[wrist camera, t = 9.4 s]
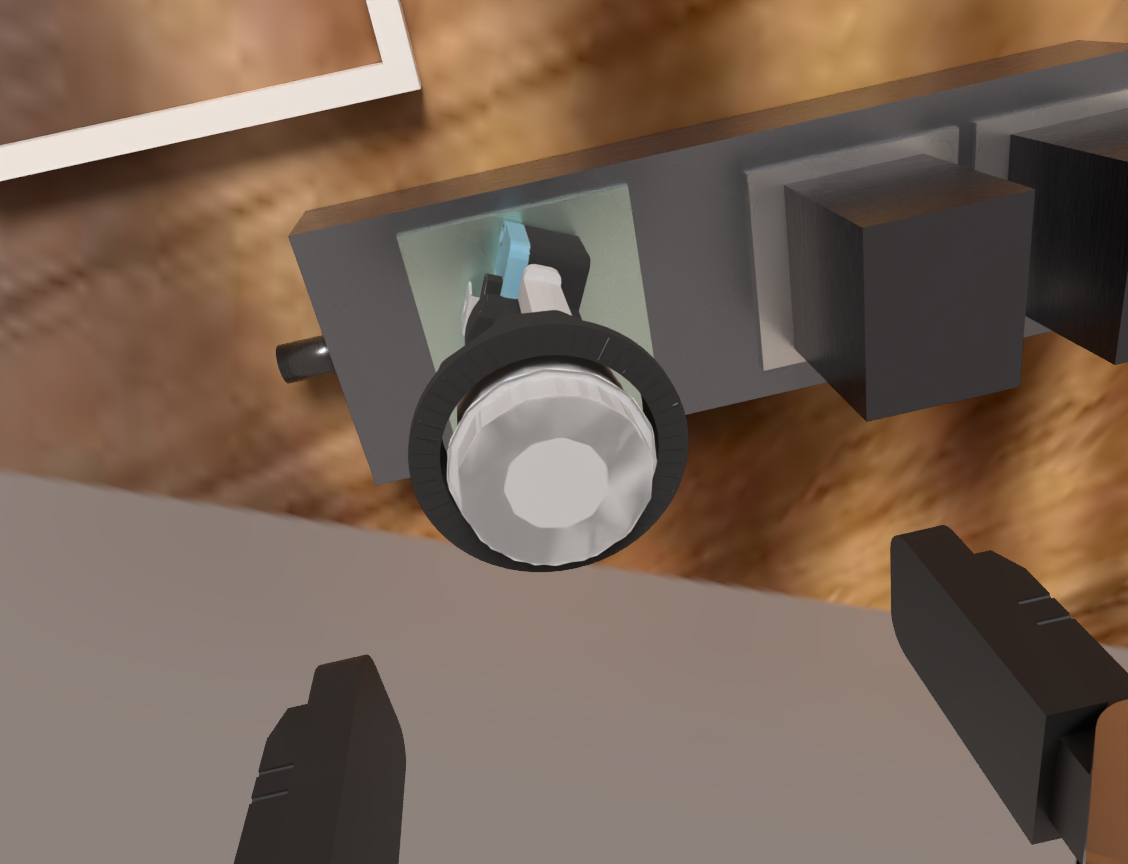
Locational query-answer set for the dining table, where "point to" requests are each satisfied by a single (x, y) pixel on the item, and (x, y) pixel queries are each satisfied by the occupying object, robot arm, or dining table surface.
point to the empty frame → (230, 107)
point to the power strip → (770, 247)
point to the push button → (544, 420)
